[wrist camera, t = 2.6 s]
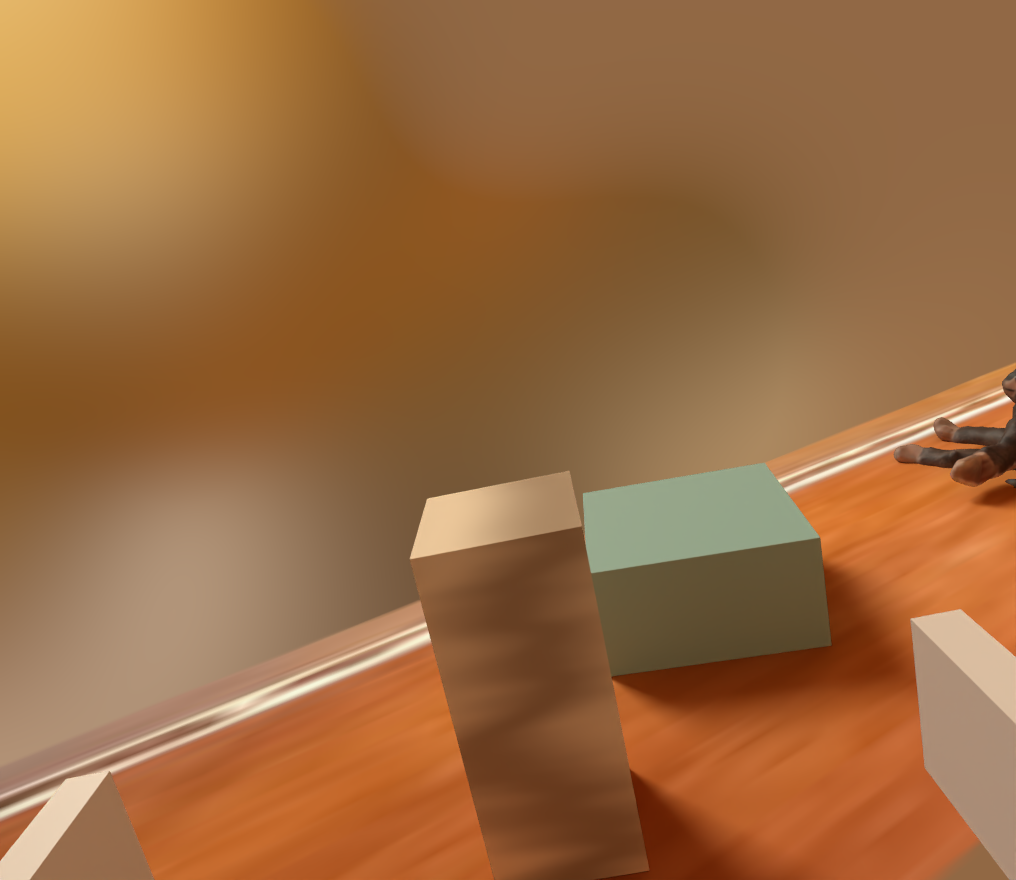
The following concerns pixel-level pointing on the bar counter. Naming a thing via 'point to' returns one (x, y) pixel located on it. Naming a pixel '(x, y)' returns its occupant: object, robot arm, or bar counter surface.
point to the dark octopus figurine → (971, 465)
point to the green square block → (704, 570)
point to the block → (529, 680)
